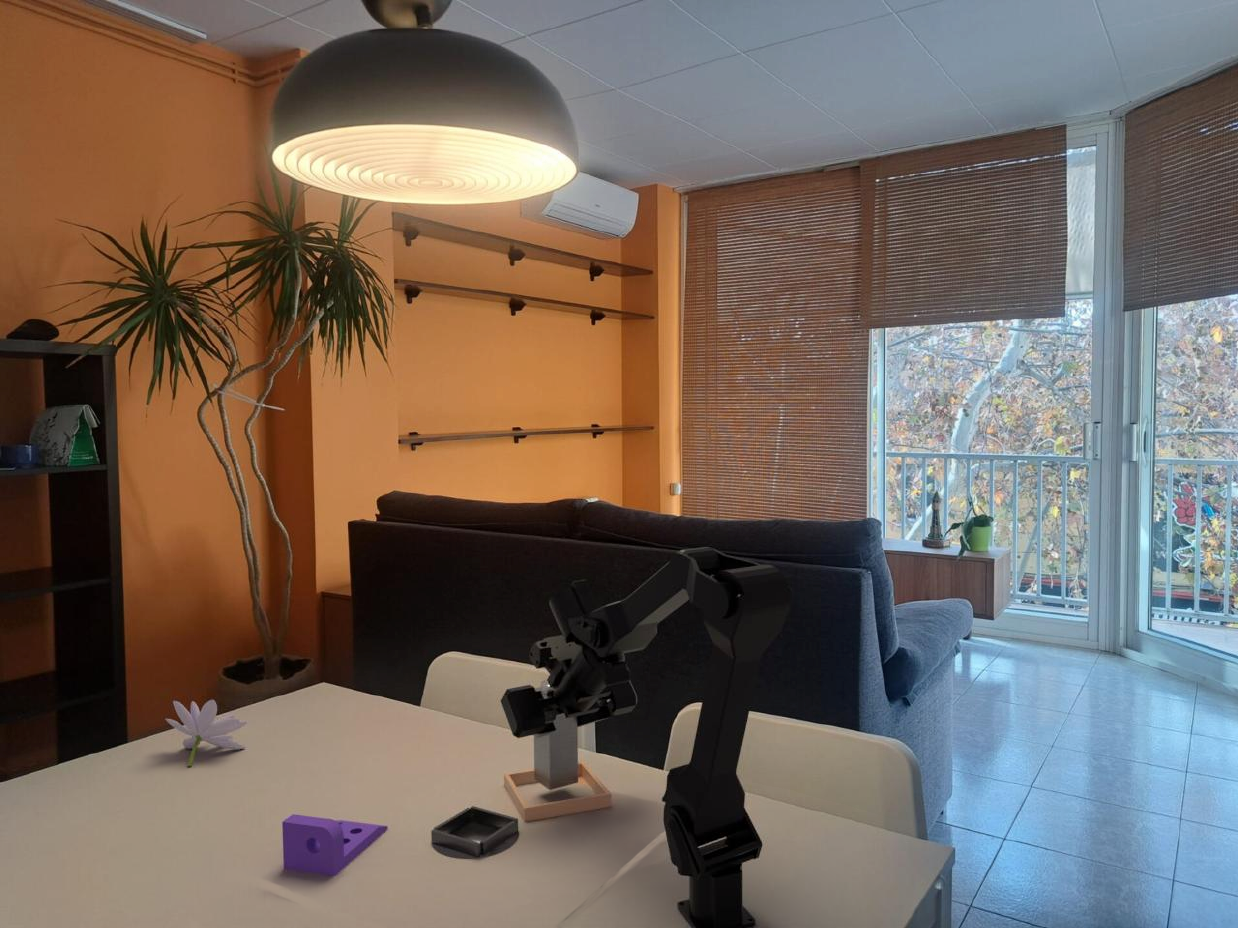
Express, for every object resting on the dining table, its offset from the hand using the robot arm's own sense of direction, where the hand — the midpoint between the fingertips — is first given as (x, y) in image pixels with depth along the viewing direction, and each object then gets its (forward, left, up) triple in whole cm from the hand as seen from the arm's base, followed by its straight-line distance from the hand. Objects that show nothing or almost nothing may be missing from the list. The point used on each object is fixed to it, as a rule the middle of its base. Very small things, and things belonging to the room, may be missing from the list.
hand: (550, 730), depth 124 cm
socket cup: (-9, +13, -10) cm, 19 cm away
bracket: (-6, +29, -10) cm, 32 cm away
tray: (-1, 0, -10) cm, 10 cm away
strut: (-1, 0, -7) cm, 7 cm away
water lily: (+36, +47, -10) cm, 60 cm away
